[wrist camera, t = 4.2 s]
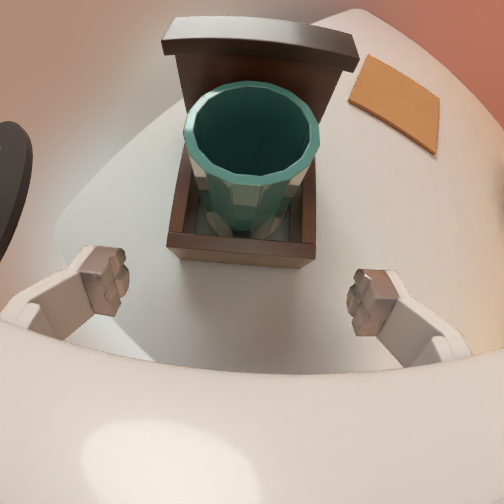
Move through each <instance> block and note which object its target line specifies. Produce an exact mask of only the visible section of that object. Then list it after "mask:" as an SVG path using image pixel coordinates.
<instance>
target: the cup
mask: <svg viewBox="0 0 504 504" xmlns="http://www.w3.org/2000/svg"><path fill="white" fill-rule="evenodd" d="M183 136H184V139H185V143H186V147H187V151H188V154H189V158H190V161H191V165H192V168H193V172H194V175H195V179H196V182H197V186H198V189H199V193H200V196H201V199H202V203H203V206H204V209H205V213H206V216H207V219H208V222H209V224H210V225H211V227H212V228H213V230H214V231H215V232H216V233H217V234H218V235H219V236H225V237H238V238H250V239H261V240H264V239H266V238H267V237H269V236H270V235H271V234H272V233H273V232H274V231H275V230H276V229H277V228H278V226H279V224H280V222H281V220H282V218H283V216H284V214H285V213H286V211H287V209H288V207H289V205H290V203H291V201H292V199H293V197H294V195H295V193H296V191H297V190H298V188H299V186H300V184H301V182H302V180H303V178H304V176H305V174H306V172H307V170H308V168H309V166H310V164H311V162H312V160H313V158H314V156H315V154H316V152H317V150H318V148H319V145H320V138H319V125H318V122H317V120H316V118H315V117H314V115H313V113H312V111H311V110H310V108H309V106H308V105H307V104H306V103H305V102H303V101H302V100H301V99H300V98H298V97H297V96H296V95H295V94H294V93H292V92H290V91H289V90H286V89H284V88H281V87H279V86H276V85H274V84H271V83H267V82H258V81H239V82H234V83H229V84H224V85H221V86H219V87H217V88H215V89H213V90H211V91H210V92H208V93H206V94H204V95H203V96H201V97H200V99H199V100H198V101H197V102H196V103H195V104H194V106H193V107H192V108H191V109H190V110H189V112H188V114H187V118H186V122H185V126H184V130H183Z"/></svg>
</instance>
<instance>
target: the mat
mask: <svg viewBox="0 0 504 504" xmlns="http://www.w3.org/2000/svg"><path fill="white" fill-rule="evenodd" d="M348 101H349V102H350V103H352V104H354V105H356V106H358V107H360V108H362V109H363V110H365V111H367V112H369V113H371V114H372V115H374V116H376V117H378V118H379V119H381V120H383V121H384V122H386V123H387V124H389V125H391V126H392V127H394V128H396V129H397V130H399V131H400V132H402V133H403V134H405V135H406V136H408V137H409V138H411V139H412V140H414V141H415V142H417V143H418V144H419V145H421V146H422V147H424V148H425V149H426V150H428V151H429V152H430V153H432V154H433V155H435V154H436V148H437V137H438V122H439V98H438V97H436V96H435V95H434V94H432V93H431V92H429V91H428V90H427V89H425V88H424V87H422V86H421V85H419V84H418V83H416V82H415V81H413V80H412V79H410V78H409V77H407V76H405V75H404V74H402V73H401V72H399V71H397V70H396V69H394V68H392V67H391V66H389V65H387V64H385V63H383V62H382V61H380V60H378V59H376V58H374V57H372V56H370V55H369V54H368V55H367V58H366V60H365V62H364V65H363V67H362V69H361V71H360V74H359V76H358V78H357V81H356V83H355V85H354V87H353V90H352V92H351V94H350V97H349V99H348Z"/></svg>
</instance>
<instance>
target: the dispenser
mask: <svg viewBox="0 0 504 504" xmlns="http://www.w3.org/2000/svg"><path fill="white" fill-rule="evenodd" d="M161 43H162V48H163V52H164V55H175V57H176V63H177V68H178V73H179V78H180V82H181V88H182V93H183V97H184V102H185V107H186V111H187V114H188V112H189V110H190V109H191V108H192V107H193V106H194V104H195V103H196V102H197V101H198V100H199V99H200V97H201V96H203V95H204V94H206V93H208V92H210V91H211V90H213V89H215V88H217V87H219V86H221V85H224V84H229V83H234V82H239V81H258V82H267V83H271V84H274V85H276V86H279V87H281V88H284V89H286V90H289V91H290V92H292V93H294V94H295V95H296V96H297V97H298V98H300V99H301V100H302V101H303V102H305V103H306V104H307V105H308V106H309V108H310V110H311V111H312V113H313V115H314V117H315V118H316V120H317V122H318V125H319V123H320V121H321V119H322V116H323V114H324V112H325V110H326V107H327V105H328V103H329V101H330V98H331V96H332V94H333V92H334V89H335V87H336V85H337V83H338V80H339V78H340V76H341V73H342V71H347V72H351V73H353V72H354V70H355V68H356V66H357V64H358V62H359V60H360V58H359V55H358V52H357V49H356V46H355V43H354V40H353V37H352V35H351V34H348V33H344V32H340V31H336V30H332V29H328V28H323V27H319V26H314V25H309V24H303V23H297V22H291V21H283V20H276V19H267V18H255V17H240V16H195V17H194V16H193V17H178V18H174V19H173V21H172V22H171V24H170V26H169V28H168V30H167V31H166V33H165V34H164V36H163V38H162V40H161ZM199 197H200V193H199V189H198V186H197V182H196V179H195V175H194V172H193V168H192V165H191V161H190V158H189V154H188V151H187V147H186V143H185V144H184V149H183V153H182V158H181V163H180V168H179V173H178V178H177V183H176V188H175V194H174V200H173V206H172V212H171V218H170V224H169V232H168V237H167V244H166V247H167V248H168V249H169V250H170V251H171V252H173V253H174V254H175V255H176V256H177V257H178V258H179V259H186V260H197V261H208V262H220V263H232V264H244V265H257V266H269V267H282V268H295V269H300V268H302V267H303V266H305V265H307V264H308V263H310V262H311V261H313V260H315V256H316V245H315V244H316V170H315V156H314V158H313V160H312V162H311V164H310V166H309V168H308V170H307V172H306V174H305V176H304V178H303V180H302V182H301V184H300V186H299V188H298V190H297V191H296V193H295V195H294V197H293V199H292V201H291V203H290V232H289V242H284V241H273V240H261V239H250V238H238V237H225V236H213V235H200V234H195V226H196V219H197V211H198V204H199Z"/></svg>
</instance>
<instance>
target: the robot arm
mask: <svg viewBox="0 0 504 504" xmlns="http://www.w3.org/2000/svg"><path fill="white" fill-rule="evenodd" d="M125 260H126V256H125V252H124V250H123V249H122V248H113V247H105V246H96V245H85V246H84V247H83V248H82V249H81V251H80V252H79V253H78V254H77V255H76V257H75V258H74V259H73V260H72V261H71V263H70V264H69V265H68V266H67V268H66V269H65V270H60V271H58V272H56V273H54V274H52V275H51V276H48V277H47V278H45V279H43V280H41V281H39V282H37V283H35V284H34V285H32V286H30V287H28V288H26V289H25V290H23V291H21V292H19V293H18V294H16V295H14V296H13V297H12V298H11V299H10V301H9V302H8V304H7V305H6V306H5V308H4V309H3V311H2V312H1V314H0V504H504V348H501V349H497V350H494V351H490V352H486V353H482V354H478V355H474V356H473V355H472V353H471V351H470V349H469V347H468V345H467V343H466V341H465V339H464V338H463V336H462V334H461V332H459V331H458V330H457V329H455V328H454V327H453V326H452V325H450V324H449V323H448V322H446V321H445V320H444V319H442V318H441V317H440V316H438V315H437V314H436V313H434V312H433V311H432V310H430V309H429V308H428V307H426V306H425V305H424V304H422V303H421V302H420V301H418V300H417V299H413V298H412V296H411V295H410V293H409V291H408V289H407V288H406V286H405V284H404V283H403V281H402V279H401V278H400V276H399V274H398V273H397V272H396V271H395V270H370V269H358V270H357V271H356V273H355V276H354V280H355V284H354V285H353V286H351V287H350V289H349V291H348V294H347V302H346V303H347V309H348V313H349V314H350V315H351V316H353V317H354V318H353V320H352V325H353V328H354V331H355V334H356V336H377V338H378V339H379V341H380V342H381V343H382V344H383V345H384V346H385V347H386V348H387V349H388V350H389V351H390V353H391V354H392V355H393V356H394V357H395V358H396V359H397V360H398V361H399V363H400V364H401V365H402V366H403V367H404V368H400V369H391V370H381V371H370V372H357V373H339V374H262V373H244V372H230V371H219V370H208V369H199V368H191V367H184V366H176V365H170V364H163V363H157V362H151V361H145V360H139V359H135V358H129V357H125V356H120V355H115V354H111V353H106V352H102V351H98V350H94V349H90V348H86V347H83V346H79V345H75V344H72V343H68V342H65V341H63V340H64V339H65V338H67V337H68V336H69V335H70V334H71V333H73V332H74V331H75V330H76V329H77V328H78V327H80V326H81V325H82V324H83V323H85V322H86V321H87V320H88V319H90V318H91V317H92V316H93V315H94V314H100V315H107V316H113V317H115V315H116V313H117V311H118V309H119V307H120V305H121V301H120V298H121V297H123V296H124V295H125V294H126V292H127V290H128V287H129V271H128V269H127V267H126V266H125V265H124V264H123V263H124V262H125Z"/></svg>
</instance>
